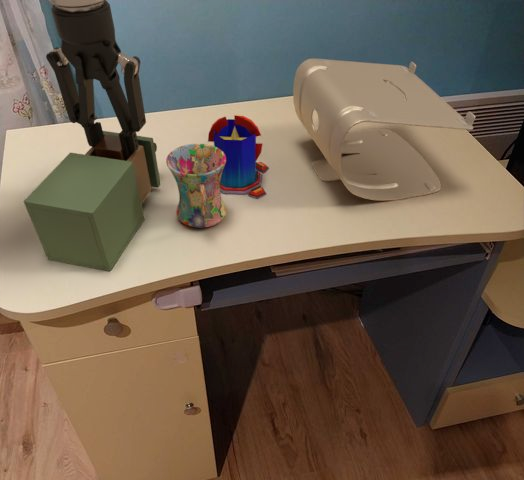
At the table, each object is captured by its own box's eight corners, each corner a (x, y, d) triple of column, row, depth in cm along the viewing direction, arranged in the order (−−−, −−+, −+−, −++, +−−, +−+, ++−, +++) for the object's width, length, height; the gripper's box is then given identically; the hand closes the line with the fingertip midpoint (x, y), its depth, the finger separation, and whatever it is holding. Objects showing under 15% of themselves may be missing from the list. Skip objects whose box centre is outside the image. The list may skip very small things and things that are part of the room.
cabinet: (87, 209, 86) (70, 152, 78) (144, 219, 84) (132, 161, 76) (47, 259, 78) (23, 201, 69) (110, 271, 76) (92, 213, 68)
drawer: (122, 164, 93) (112, 118, 87) (169, 171, 92) (162, 125, 85) (80, 216, 83) (65, 169, 76) (132, 225, 82) (121, 178, 75)
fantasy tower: (200, 196, 89) (194, 131, 79) (208, 161, 96) (203, 98, 87) (266, 199, 88) (267, 134, 79) (269, 163, 96) (271, 100, 87)
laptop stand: (288, 140, 101) (293, 58, 89) (393, 125, 106) (411, 45, 94) (334, 212, 86) (347, 125, 74) (454, 192, 90) (485, 106, 78)
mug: (172, 203, 87) (163, 146, 79) (224, 197, 89) (220, 140, 80) (179, 246, 80) (171, 188, 72) (236, 239, 81) (234, 181, 73)
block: (100, 172, 82) (94, 147, 78) (112, 159, 85) (106, 134, 81) (125, 176, 81) (119, 151, 78) (136, 162, 84) (131, 137, 80)
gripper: (153, -1, 65) (175, 162, 84) (34, -13, 68) (81, 148, 86) (129, 18, 61) (159, 186, 79) (3, 5, 63) (59, 170, 82)
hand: (118, 166), depth 83 cm, fingers closed on block, 4 cm apart
